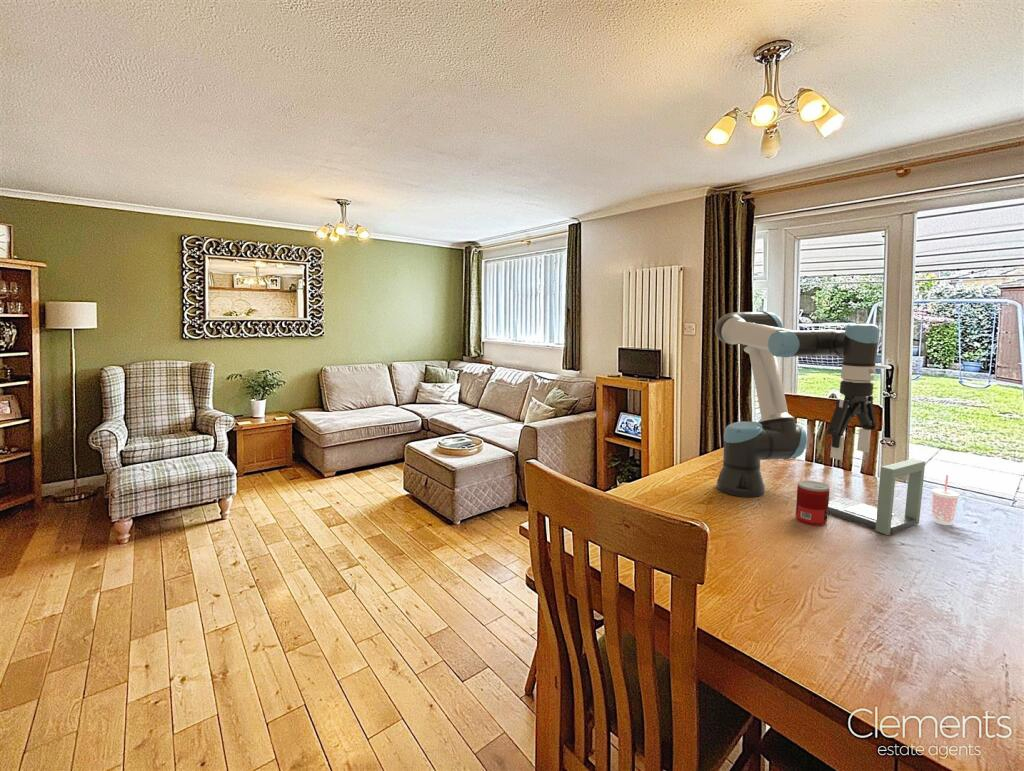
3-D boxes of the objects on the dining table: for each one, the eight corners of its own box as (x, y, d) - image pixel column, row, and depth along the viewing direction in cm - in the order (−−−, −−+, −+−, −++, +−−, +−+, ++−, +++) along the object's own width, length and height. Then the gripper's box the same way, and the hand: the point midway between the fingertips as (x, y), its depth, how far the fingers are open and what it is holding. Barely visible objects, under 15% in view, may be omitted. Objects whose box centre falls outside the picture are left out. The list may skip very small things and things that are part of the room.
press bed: (819, 509, 154) (819, 503, 154) (842, 503, 160) (843, 496, 159) (891, 534, 137) (891, 526, 136) (915, 526, 142) (916, 518, 141)
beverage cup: (943, 527, 141) (949, 479, 139) (922, 518, 147) (927, 472, 145) (962, 525, 142) (967, 477, 140) (940, 516, 148) (945, 471, 146)
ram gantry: (875, 530, 138) (880, 466, 136) (907, 520, 145) (912, 458, 143) (887, 534, 136) (893, 469, 133) (919, 523, 142) (925, 461, 140)
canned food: (831, 527, 142) (834, 490, 140) (800, 525, 144) (803, 488, 142) (820, 516, 149) (823, 481, 148) (791, 514, 151) (793, 479, 150)
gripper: (846, 386, 128) (838, 465, 132) (895, 378, 140) (887, 451, 143) (816, 382, 135) (810, 458, 138) (866, 375, 146) (859, 445, 150)
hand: (849, 454), depth 141 cm, fingers open, 13 cm apart
